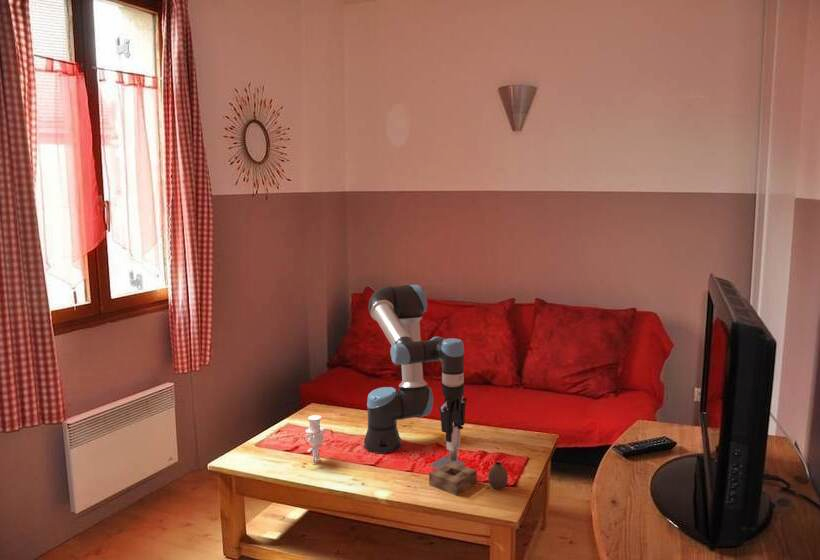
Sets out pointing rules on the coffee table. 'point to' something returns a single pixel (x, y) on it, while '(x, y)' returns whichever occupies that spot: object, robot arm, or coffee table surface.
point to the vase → (498, 476)
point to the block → (453, 478)
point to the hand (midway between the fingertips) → (453, 448)
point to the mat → (444, 461)
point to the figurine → (315, 435)
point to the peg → (454, 454)
